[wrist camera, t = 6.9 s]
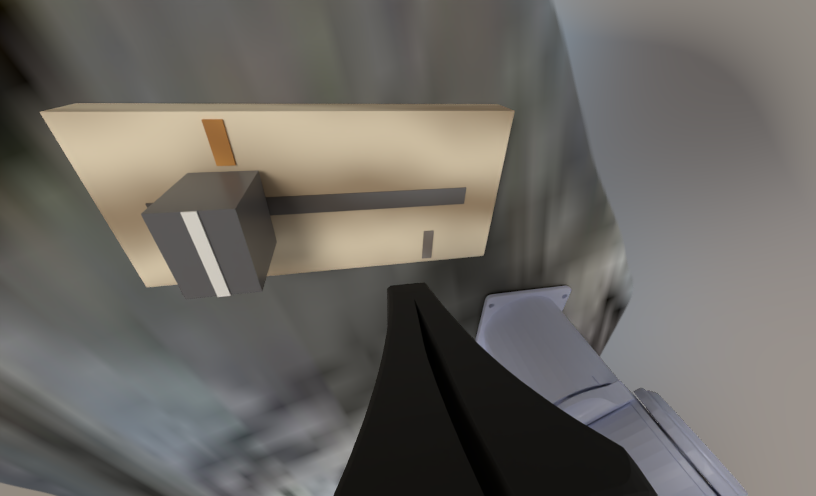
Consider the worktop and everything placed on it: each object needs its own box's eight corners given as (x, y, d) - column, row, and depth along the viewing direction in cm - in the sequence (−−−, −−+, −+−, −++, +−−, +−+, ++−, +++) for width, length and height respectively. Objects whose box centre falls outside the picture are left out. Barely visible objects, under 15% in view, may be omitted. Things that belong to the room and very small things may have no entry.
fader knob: (276, 241, 16) (261, 292, 13) (216, 246, 16) (185, 300, 12) (258, 170, 14) (234, 209, 11) (187, 173, 13) (139, 214, 10)
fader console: (472, 239, 22) (484, 256, 20) (163, 265, 18) (145, 288, 17) (497, 104, 17) (515, 111, 15) (76, 103, 13) (37, 112, 11)
